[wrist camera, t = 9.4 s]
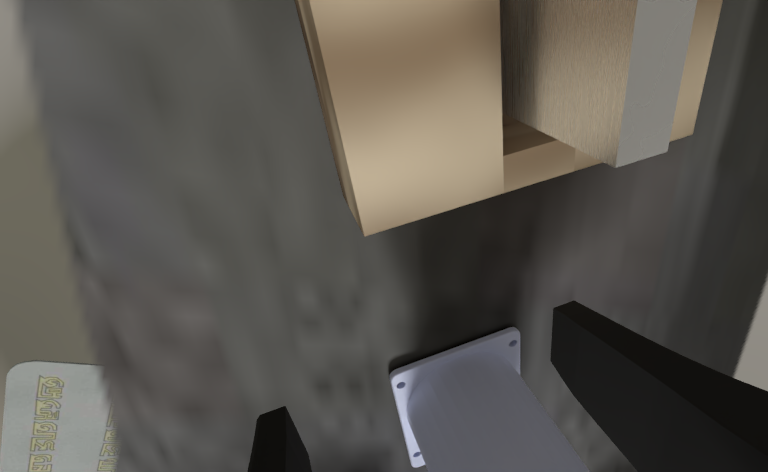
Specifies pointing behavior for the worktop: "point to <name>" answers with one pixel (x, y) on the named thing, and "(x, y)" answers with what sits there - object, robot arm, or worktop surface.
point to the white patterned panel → (55, 419)
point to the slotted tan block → (440, 105)
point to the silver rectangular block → (596, 71)
